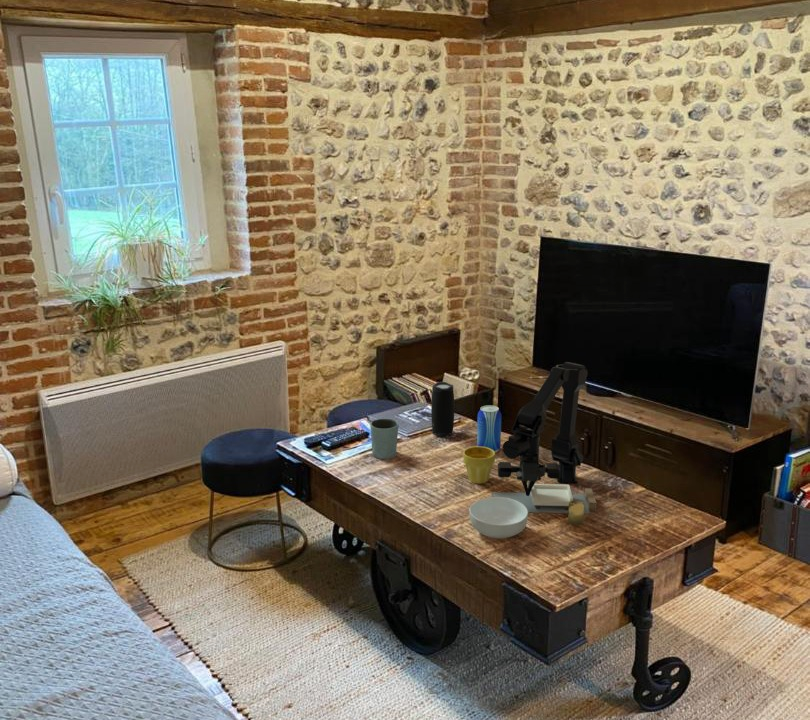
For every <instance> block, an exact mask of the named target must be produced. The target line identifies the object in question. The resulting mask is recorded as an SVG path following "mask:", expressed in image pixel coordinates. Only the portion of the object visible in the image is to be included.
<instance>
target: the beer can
mask: <svg viewBox="0 0 810 720" xmlns="http://www.w3.org/2000/svg"><path fill="white" fill-rule="evenodd" d="M499 409H500V408H499V407H498V406H496V405H491V404H489V405H483V406H481V407H480V410H479V411H478V412H477V422H476V423H477V427H476V430H477V431H476V433H477V435H476V436H477V437H476V442H477V443H476V446H481V447H487V448H490V449H492V450H493V451H494V452H495V454H497V453H498V452H499V451H500V449H501V447H502V446H501V441H502V436H501V435H502V413H501V411H500V410H499Z"/></svg>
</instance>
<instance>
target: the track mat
mask: <svg viewBox="0 0 810 720" xmlns="http://www.w3.org/2000/svg"><path fill="white" fill-rule="evenodd" d="M584 495H585V493H584V494H582V493H581V494H580V493H572V497H573V501H581V502H583V503H584V515H590V513H591V512H589V509H588V506H587V503H586V500H585V497H584ZM491 497H504V498H510V499H513V500H516V501H518V502H520V503H522V504H523V505H524V506H525V507H526V508H527V510H528V513H535V514H536V513H537V514H538V513H539V514H540V513H541V514H568V510H566V509H565V507H564V506H547V505H540V508H539V509H536V508H535V505H533V504H532V498H531V492H530V495H529V496H526V492H508V491H507V492H504V491H501V492H498V491H492V492H491Z"/></svg>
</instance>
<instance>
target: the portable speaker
mask: <svg viewBox="0 0 810 720" xmlns="http://www.w3.org/2000/svg"><path fill="white" fill-rule="evenodd" d="M454 394H455V393H454V384H451V383H448V382H446V381H438V382H436V383H434V384H433V385H432V390H431V399H430V400H431V405H430V406H431V407H430V408H431V410H430V411H431V413H430V415H431V416H430V420H431V432H432V434H434V435H436V436H437V438H448V437H449V435H450V434H454V433H453V432H454V424H455V395H454Z"/></svg>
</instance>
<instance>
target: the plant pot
mask: <svg viewBox="0 0 810 720" xmlns="http://www.w3.org/2000/svg"><path fill="white" fill-rule="evenodd" d="M462 454H463V455H462V457H463V459H462V460H463V463H464V465H465V467H466V468H465V469H466V473H467V478H468V481H470V482H471V483H473V484H478V485H479V484H480V485H481V484H485V483H488V482H489V480H490V476H491V472H492V468H493V465H494V464H495V462H496V461H495V460H496V453H495V452H494V451H493V450H492V449H490V448H487V447H481V446H477V445H475V446H470V447H467V448H465V449H464V450H463V453H462Z"/></svg>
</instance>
